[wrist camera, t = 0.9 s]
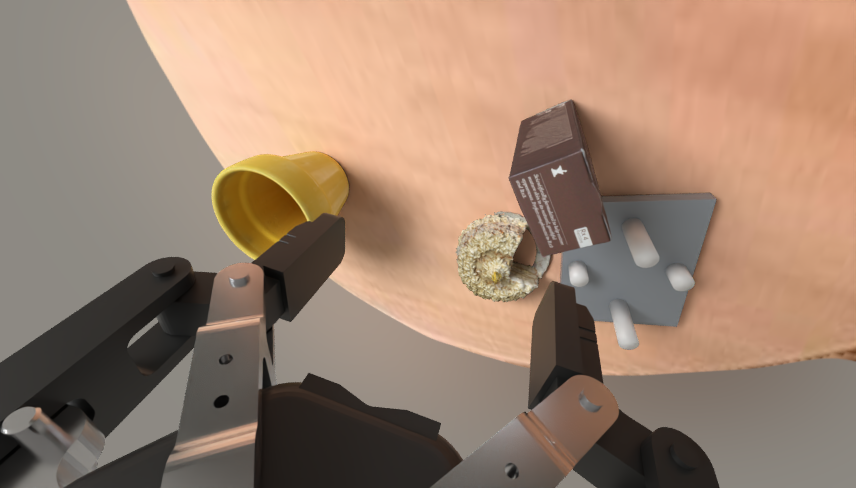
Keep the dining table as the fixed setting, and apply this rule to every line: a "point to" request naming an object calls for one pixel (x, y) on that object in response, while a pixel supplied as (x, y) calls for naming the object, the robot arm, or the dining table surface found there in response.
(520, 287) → the sea snail shell
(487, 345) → the dining table surface
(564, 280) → the pin tray
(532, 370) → the robot arm
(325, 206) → the plant pot
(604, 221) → the box
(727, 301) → the dining table surface
